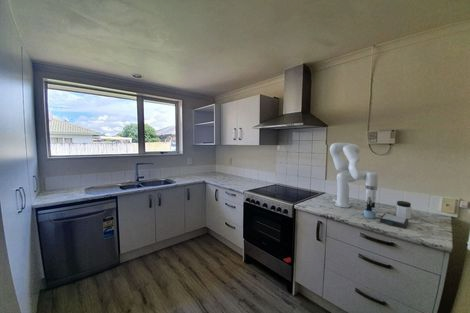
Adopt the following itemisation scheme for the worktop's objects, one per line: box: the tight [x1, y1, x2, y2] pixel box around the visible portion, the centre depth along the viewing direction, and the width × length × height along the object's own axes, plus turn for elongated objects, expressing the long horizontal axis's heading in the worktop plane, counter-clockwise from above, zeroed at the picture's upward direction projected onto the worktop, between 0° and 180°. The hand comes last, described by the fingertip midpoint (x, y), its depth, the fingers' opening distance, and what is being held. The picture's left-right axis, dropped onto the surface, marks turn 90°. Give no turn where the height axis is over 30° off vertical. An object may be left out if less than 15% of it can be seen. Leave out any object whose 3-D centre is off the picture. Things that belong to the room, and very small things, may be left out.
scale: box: [379, 213, 409, 229], centre depth 138 cm, size 14×16×4 cm
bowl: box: [363, 208, 377, 220], centre depth 149 cm, size 7×7×6 cm
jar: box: [395, 200, 412, 220], centre depth 148 cm, size 9×8×12 cm
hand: (370, 209), depth 148 cm, fingers open, 9 cm apart
